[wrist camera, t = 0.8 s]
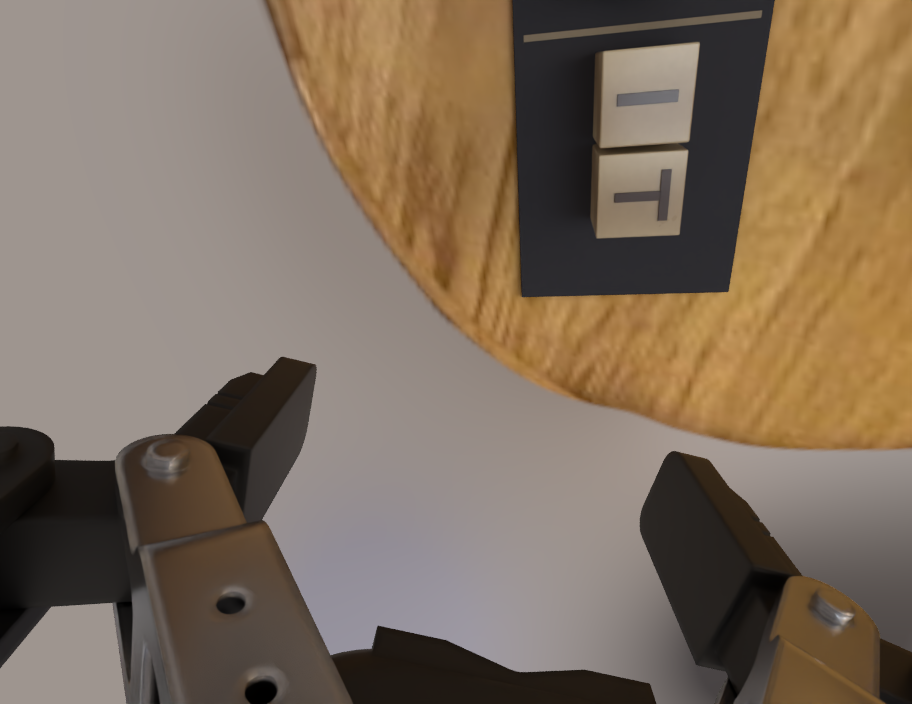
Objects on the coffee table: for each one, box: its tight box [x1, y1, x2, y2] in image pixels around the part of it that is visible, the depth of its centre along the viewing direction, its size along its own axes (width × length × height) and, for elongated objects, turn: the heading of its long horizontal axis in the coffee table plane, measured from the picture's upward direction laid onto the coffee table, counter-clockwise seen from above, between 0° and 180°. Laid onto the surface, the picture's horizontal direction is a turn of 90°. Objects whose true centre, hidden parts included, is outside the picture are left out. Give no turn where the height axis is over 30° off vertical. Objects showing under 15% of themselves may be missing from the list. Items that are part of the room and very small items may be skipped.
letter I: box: [593, 42, 700, 148], centre depth 26 cm, size 4×4×4 cm
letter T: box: [590, 143, 688, 239], centre depth 28 cm, size 4×4×4 cm
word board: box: [513, 0, 775, 297], centre depth 27 cm, size 24×12×1 cm, turn 5°
